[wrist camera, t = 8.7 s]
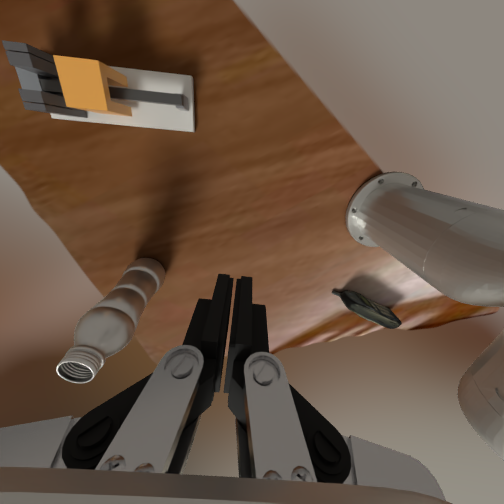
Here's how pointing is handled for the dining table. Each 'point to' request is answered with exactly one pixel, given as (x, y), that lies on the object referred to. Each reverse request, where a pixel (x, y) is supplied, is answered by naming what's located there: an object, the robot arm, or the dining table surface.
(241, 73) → the dining table surface
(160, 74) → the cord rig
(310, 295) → the dining table surface
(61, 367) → the plastic bottle
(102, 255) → the dining table surface
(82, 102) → the orange bracket
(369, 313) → the mobile phone
